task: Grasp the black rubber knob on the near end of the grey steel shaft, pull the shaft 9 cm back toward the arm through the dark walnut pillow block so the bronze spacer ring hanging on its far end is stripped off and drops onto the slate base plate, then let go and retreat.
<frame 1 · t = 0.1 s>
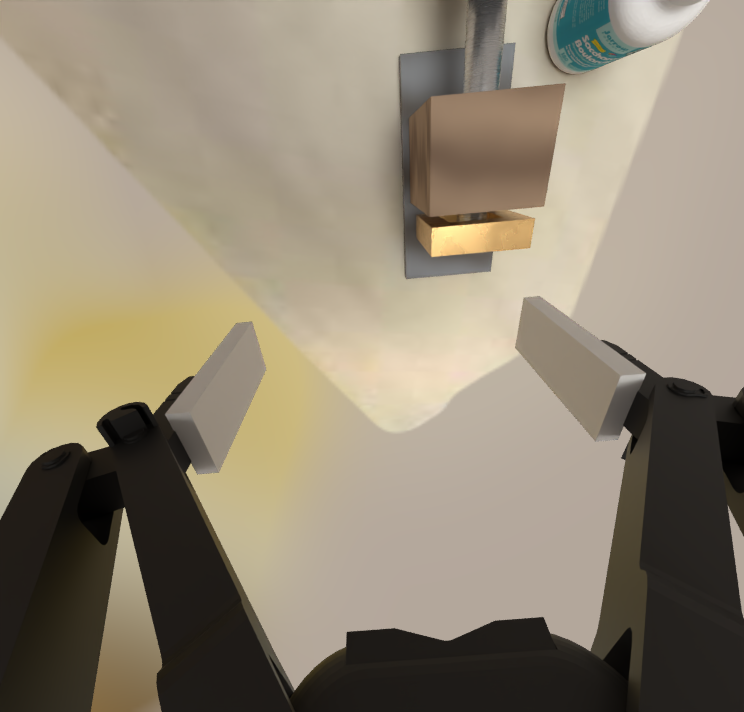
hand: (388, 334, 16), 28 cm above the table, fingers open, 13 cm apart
spacer: (455, 222, 36), point 3 cm above the table, touching shaft
pill bottle: (581, 27, 31), on the table
bearing block: (451, 158, 36), on the table
shaft: (479, 107, 27), point 9 cm above the table, slide at 0.0 cm, touching spacer
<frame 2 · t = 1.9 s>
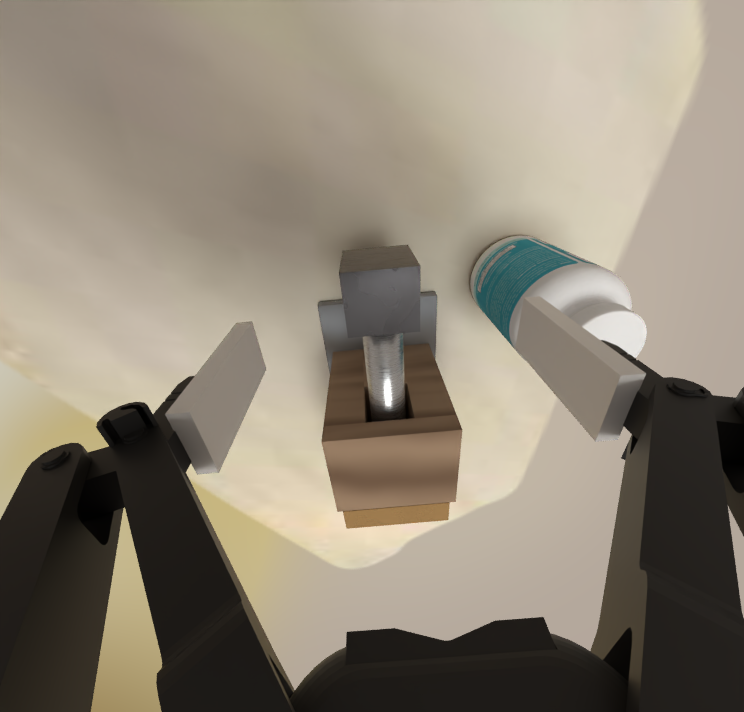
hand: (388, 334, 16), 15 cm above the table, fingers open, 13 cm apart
spacer: (388, 438, 35), point 3 cm above the table, touching shaft
pill bottle: (507, 274, 30), on the table
bearing block: (382, 374, 35), on the table
shaft: (387, 403, 25), point 9 cm above the table, slide at 0.0 cm, touching spacer
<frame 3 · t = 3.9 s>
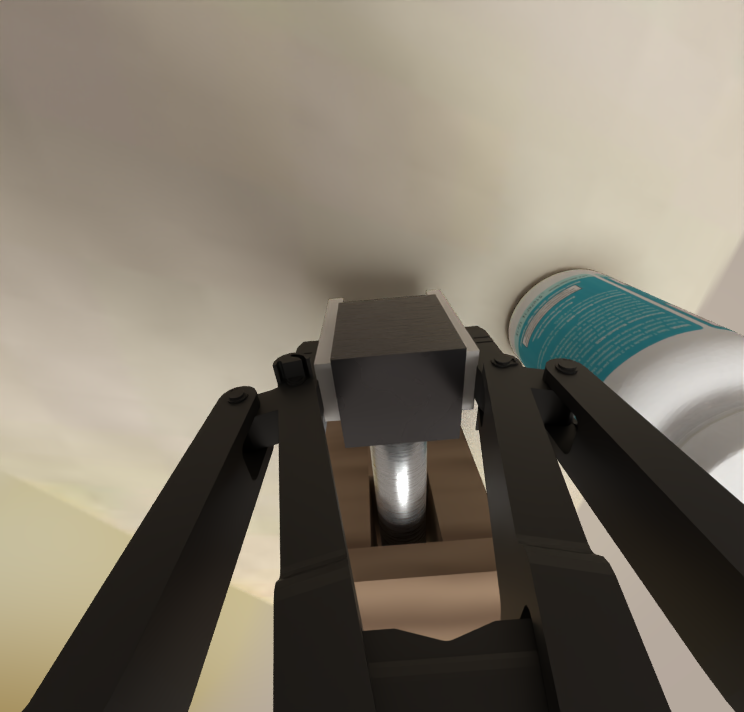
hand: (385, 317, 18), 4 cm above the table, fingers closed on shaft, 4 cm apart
pill bottle: (556, 317, 23), on the table
bearing block: (391, 435, 28), on the table
shaft: (401, 504, 18), point 9 cm above the table, slide at 0.0 cm, touching gripper, spacer
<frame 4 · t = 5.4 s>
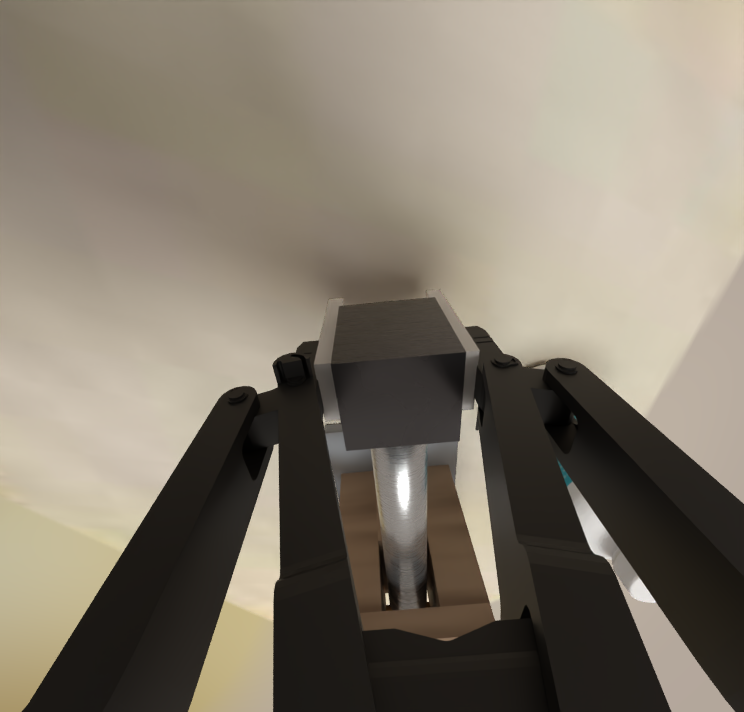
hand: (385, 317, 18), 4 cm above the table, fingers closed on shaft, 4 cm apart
pill bottle: (538, 395, 26), on the table
bearing block: (395, 488, 32), on the table
shaft: (402, 506, 18), point 9 cm above the table, slide at 7.0 cm, touching gripper
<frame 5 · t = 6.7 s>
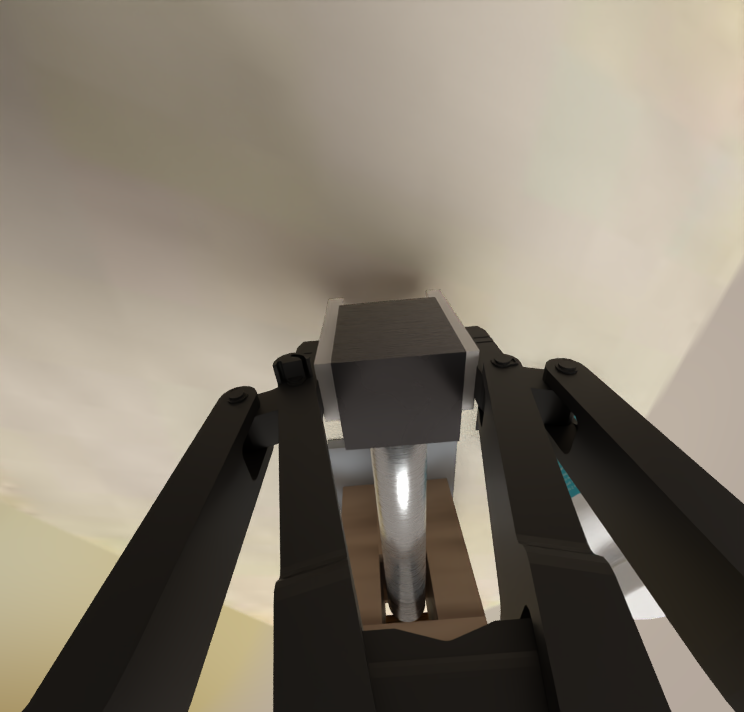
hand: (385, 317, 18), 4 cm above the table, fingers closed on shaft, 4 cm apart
pill bottle: (533, 413, 27), on the table
bearing block: (395, 499, 32), on the table
shaft: (401, 506, 18), point 9 cm above the table, slide at 8.8 cm, touching gripper
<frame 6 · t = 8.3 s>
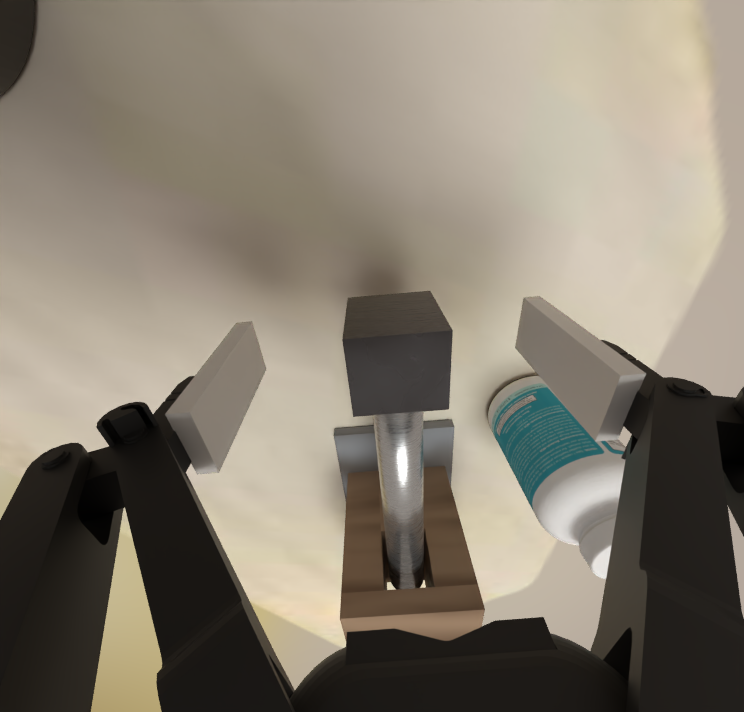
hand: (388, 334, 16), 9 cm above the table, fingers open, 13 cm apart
pill bottle: (525, 404, 30), on the table
bearing block: (397, 487, 35), on the table
shaft: (401, 478, 21), point 9 cm above the table, slide at 8.8 cm
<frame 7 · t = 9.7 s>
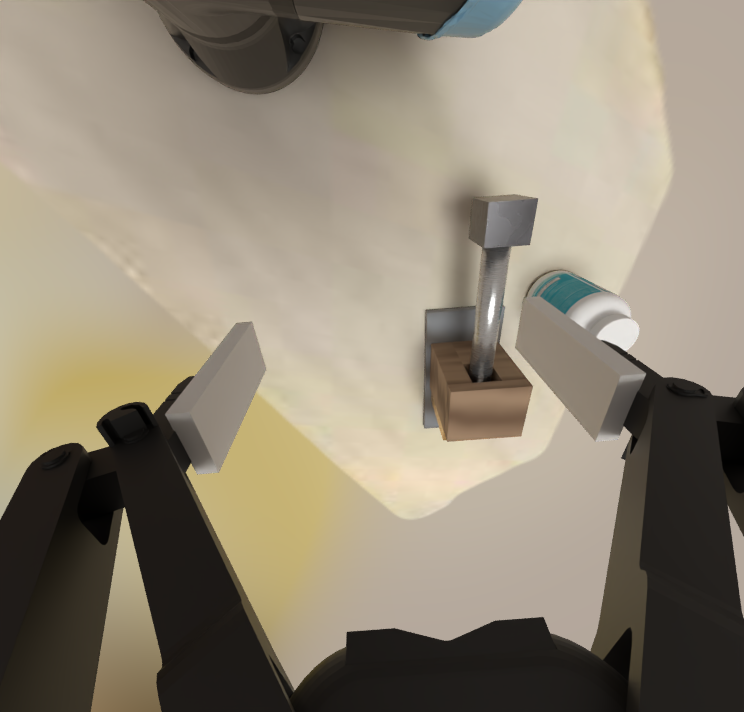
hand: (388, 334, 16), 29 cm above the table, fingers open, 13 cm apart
pill bottle: (550, 294, 46), on the table
bearing block: (459, 360, 51), on the table
shaft: (488, 309, 37), point 9 cm above the table, slide at 8.8 cm
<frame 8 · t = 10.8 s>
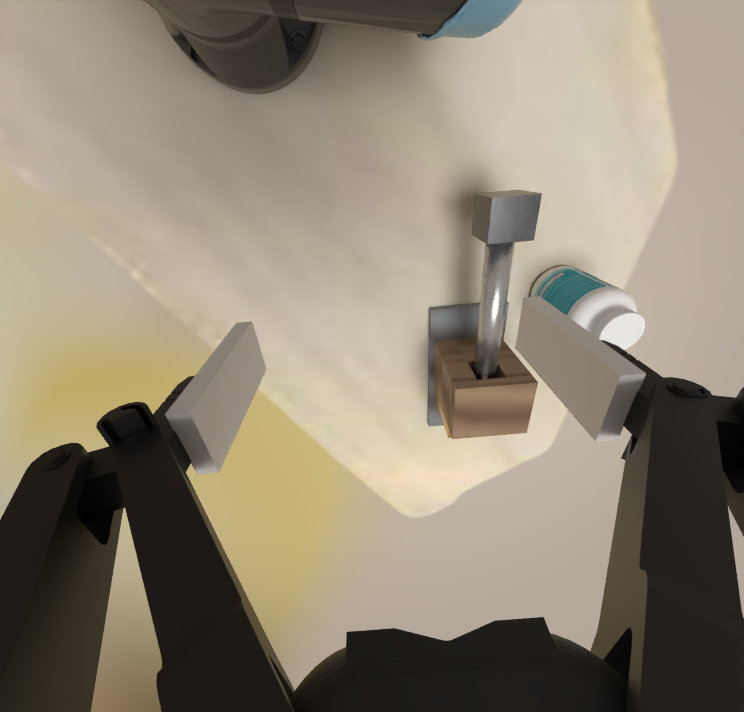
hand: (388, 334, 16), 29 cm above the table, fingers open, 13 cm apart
pill bottle: (554, 290, 46), on the table
bearing block: (463, 357, 51), on the table
shaft: (492, 306, 37), point 9 cm above the table, slide at 8.8 cm
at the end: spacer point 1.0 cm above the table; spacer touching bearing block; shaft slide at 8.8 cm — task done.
